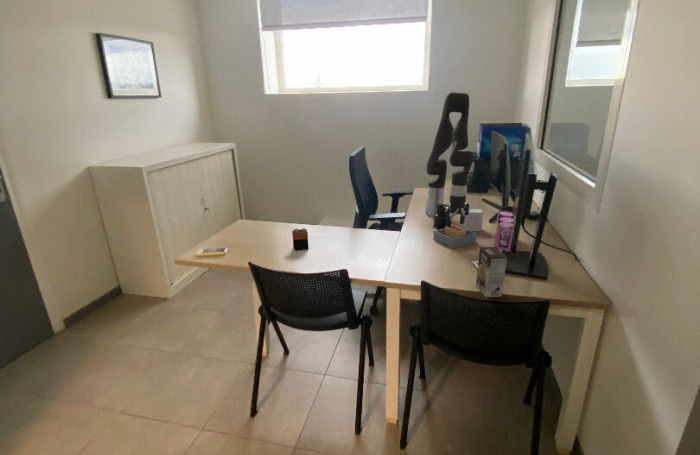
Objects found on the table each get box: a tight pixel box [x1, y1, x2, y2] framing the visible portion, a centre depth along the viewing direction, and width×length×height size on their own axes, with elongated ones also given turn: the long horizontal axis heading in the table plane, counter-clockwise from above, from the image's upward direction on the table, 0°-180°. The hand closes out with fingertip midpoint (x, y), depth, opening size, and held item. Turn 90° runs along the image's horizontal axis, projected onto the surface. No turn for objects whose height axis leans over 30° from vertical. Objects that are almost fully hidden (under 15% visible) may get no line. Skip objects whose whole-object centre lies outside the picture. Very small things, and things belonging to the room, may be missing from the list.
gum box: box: [493, 209, 514, 251], centre depth 181 cm, size 24×8×14 cm, turn 158°
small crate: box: [445, 224, 466, 239], centre depth 186 cm, size 9×5×6 cm, turn 29°
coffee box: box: [475, 246, 508, 298], centre depth 138 cm, size 9×6×16 cm
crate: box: [432, 225, 478, 249], centre depth 187 cm, size 13×15×5 cm
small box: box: [463, 208, 484, 232], centre depth 201 cm, size 8×6×10 cm
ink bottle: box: [432, 203, 450, 230], centre depth 205 cm, size 10×9×12 cm
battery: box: [291, 228, 309, 252], centre depth 179 cm, size 4×7×10 cm, turn 105°
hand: (455, 225), depth 185 cm, fingers open, 8 cm apart
